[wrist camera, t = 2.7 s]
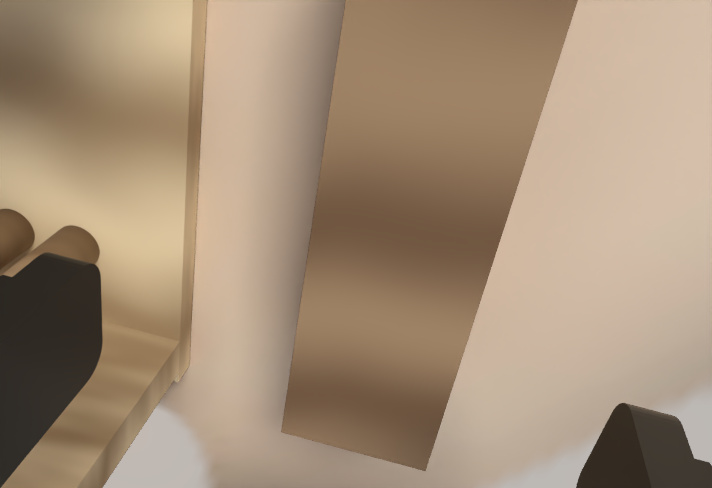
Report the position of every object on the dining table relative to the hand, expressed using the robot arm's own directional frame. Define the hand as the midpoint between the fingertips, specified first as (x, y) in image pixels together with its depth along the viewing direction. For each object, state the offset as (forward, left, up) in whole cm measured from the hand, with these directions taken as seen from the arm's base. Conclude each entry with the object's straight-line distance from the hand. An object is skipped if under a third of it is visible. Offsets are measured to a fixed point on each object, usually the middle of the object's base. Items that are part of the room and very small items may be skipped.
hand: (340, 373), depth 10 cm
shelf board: (0, 0, -11) cm, 11 cm away
